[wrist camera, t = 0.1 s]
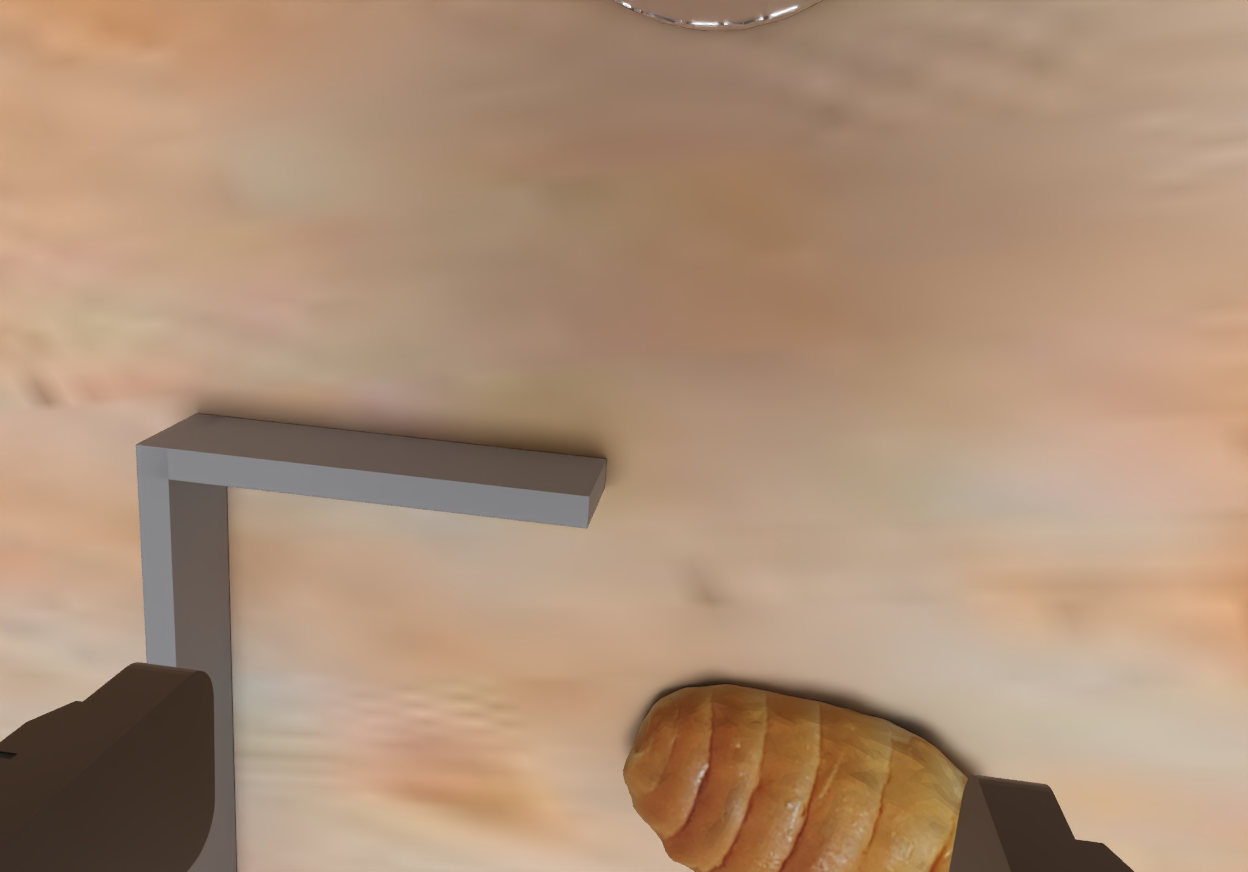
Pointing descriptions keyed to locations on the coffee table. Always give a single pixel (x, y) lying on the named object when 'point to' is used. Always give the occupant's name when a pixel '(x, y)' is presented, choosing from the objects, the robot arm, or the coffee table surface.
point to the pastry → (790, 786)
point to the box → (313, 466)
